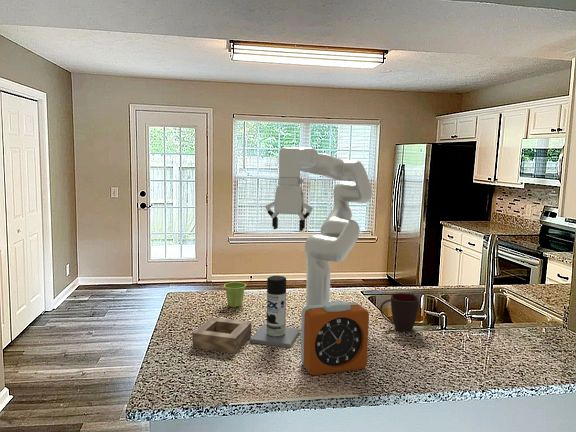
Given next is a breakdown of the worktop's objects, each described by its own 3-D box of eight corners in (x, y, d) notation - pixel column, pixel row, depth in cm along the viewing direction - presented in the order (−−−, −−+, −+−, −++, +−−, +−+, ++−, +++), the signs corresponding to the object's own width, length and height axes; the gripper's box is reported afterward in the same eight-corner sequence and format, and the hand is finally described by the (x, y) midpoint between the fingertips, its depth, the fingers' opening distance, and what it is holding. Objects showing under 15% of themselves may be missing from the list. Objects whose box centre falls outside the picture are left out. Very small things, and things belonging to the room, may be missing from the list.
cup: (420, 334, 162) (422, 302, 161) (381, 333, 163) (383, 301, 161) (413, 324, 172) (415, 293, 170) (376, 323, 172) (378, 292, 171)
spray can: (262, 334, 156) (263, 278, 154) (272, 328, 162) (273, 274, 159) (279, 338, 153) (280, 281, 150) (288, 332, 159) (290, 276, 156)
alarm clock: (309, 377, 130) (310, 308, 127) (299, 363, 138) (301, 298, 135) (367, 369, 135) (370, 303, 132) (355, 356, 143) (357, 294, 140)
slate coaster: (299, 331, 163) (300, 328, 162) (289, 347, 149) (289, 344, 149) (262, 327, 166) (263, 324, 166) (249, 342, 153) (250, 338, 153)
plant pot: (220, 307, 187) (219, 287, 186) (229, 300, 196) (229, 281, 195) (240, 309, 184) (240, 289, 183) (249, 302, 193) (249, 283, 192)
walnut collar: (251, 335, 158) (251, 321, 158) (235, 353, 144) (235, 338, 143) (211, 330, 162) (211, 317, 162) (192, 347, 148) (192, 332, 147)
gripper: (315, 182, 162) (314, 229, 164) (269, 180, 167) (268, 226, 169) (310, 183, 155) (309, 232, 157) (262, 182, 159) (262, 229, 162)
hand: (288, 229), depth 163 cm, fingers open, 9 cm apart
